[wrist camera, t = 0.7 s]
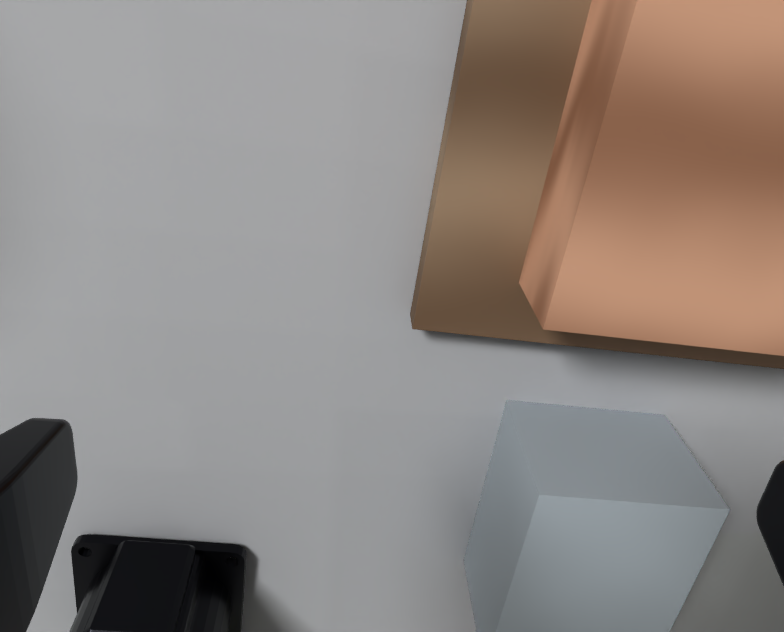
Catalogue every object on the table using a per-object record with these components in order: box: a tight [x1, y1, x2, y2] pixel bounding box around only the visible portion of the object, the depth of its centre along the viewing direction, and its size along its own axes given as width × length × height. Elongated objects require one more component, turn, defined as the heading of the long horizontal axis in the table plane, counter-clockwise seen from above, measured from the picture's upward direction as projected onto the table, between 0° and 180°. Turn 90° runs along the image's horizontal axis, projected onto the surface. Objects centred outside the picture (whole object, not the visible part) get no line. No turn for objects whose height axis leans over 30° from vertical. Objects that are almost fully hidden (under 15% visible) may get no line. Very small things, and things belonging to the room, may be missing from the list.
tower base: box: [410, 0, 784, 369], centre depth 18 cm, size 14×14×4 cm
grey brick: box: [464, 400, 730, 632], centre depth 24 cm, size 8×6×5 cm
